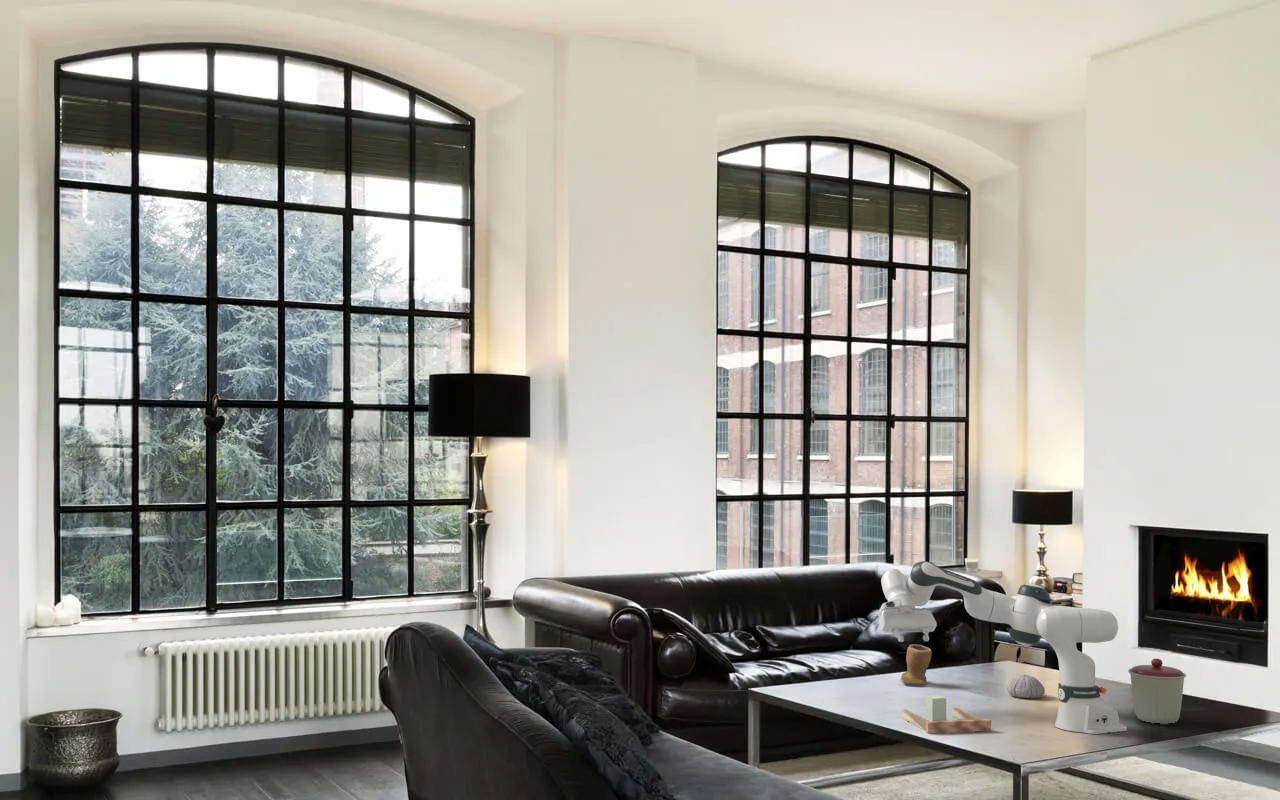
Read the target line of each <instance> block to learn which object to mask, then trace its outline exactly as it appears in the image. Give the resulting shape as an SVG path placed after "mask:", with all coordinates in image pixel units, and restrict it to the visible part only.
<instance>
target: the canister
mask: <svg viewBox="0 0 1280 800" xmlns="http://www.w3.org/2000/svg"><path fill="white" fill-rule="evenodd" d="M1150 663H1151V664H1141V665H1135V666H1133V667H1132V668H1129V669H1128V670H1127V671H1128V673H1129V674H1130V684H1131V691H1132V692H1131V693H1132V699H1133V705H1134V712H1135V715H1136V717H1137V719H1139V720H1140V721H1143V722H1144V721H1145V722H1146V723H1148V722H1151V723H1150V724H1154V723H1160V724H1159V725H1169V724H1168V723H1173V724H1176V723H1177V722H1178V721H1179V719H1180V717H1181V708H1182V703H1183V702H1182V700H1183V691H1184V684H1185V678H1186V677H1187V674H1186V673H1185V672H1183V671H1182V670H1181V669H1179V668H1175V667H1173V666H1172V667H1171V666H1166V665H1163V664H1164V663H1163V660H1162V659H1160V658H1157V657H1156V658H1153V659H1151V661H1150ZM1145 722H1144V723H1145ZM1175 722H1176V723H1175Z"/></svg>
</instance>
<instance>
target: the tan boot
mask: <svg viewBox="0 0 1280 800" xmlns="http://www.w3.org/2000/svg"><path fill="white" fill-rule="evenodd" d="M932 653H933V652H932V650H931V648H929V647H927V646H924V645H922V644H916V643H915V644H909V646H908V647H907V650H906V659H905V661H906V667H907V671H904V672H903V673H902V674H901V676H900V681H901V683H903V684H906V685H911V686H912V685H913V686H921V685H922V686H923V685H925V684H926V683H927V677H926V674H927V670H928V668H929V665H930V664H931V663H930V662H931V660H932V655H933V654H932Z"/></svg>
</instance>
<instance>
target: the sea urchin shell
mask: <svg viewBox="0 0 1280 800" xmlns="http://www.w3.org/2000/svg"><path fill="white" fill-rule="evenodd" d="M1006 689H1007V693H1008V694H1009V695H1010V696H1012V697H1016V698H1021V699H1041V698H1042V697H1043V696H1044V695H1045V694H1046V693H1045V692H1046V691H1045V687H1044V686H1043V684H1042V683H1041V682H1040V681H1039V680H1038V679H1037V678H1036V677H1035V676H1032V675H1029V674H1019V675H1016V676H1015V677H1013V678H1012V679H1011V680H1010V681H1009V683H1008V685H1007V688H1006Z"/></svg>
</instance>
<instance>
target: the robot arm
mask: <svg viewBox="0 0 1280 800" xmlns="http://www.w3.org/2000/svg"><path fill="white" fill-rule="evenodd" d="M880 582H881V587H882V588H881V589H882V592H883V594H884V596H885V597H884V598H885V599H886V600H887V602H883V603H882V604H881V606H880V608H879V611H878V613H877V615H878V618H879V620H878V624H879V627H880V630H881V632H883V633H884V634H885V633H886V634H887V633H889V634H890V633H892V635H893V636H895V637H894V638H896V639H897V641H898V642H900V643H902V642H904V641H905V638H904V635H903V634H900V633H923V635H922V639H923V641H924V642H929V640H930V636H929V633H930V632H931V633H932V632H934V631H935V629H936V627H937V626H938V624H937V621H936V619H935V617H934V615H933V613H932V611H931V610H929V609H928V608H926V607H922V606H925V605H926V604H928V602H929V601H930V599H931V596H932V594H933V592H934V590H935V588H936V587H937V586H942V587H945V588H948V589H950V590H954V591H957V592H959V593H960V594H961V595H962V596H963V603H964V608H965V610H966V613H968V614H969V616H971V617H972V618H974V619H978V620H981V621H986V622H989V623H990V622H991V623H998V624H999V623H1000V624H1007V625H1009V626H1010V628H1009V627H1006V628H1005V630H1006V631H1008V633H1009V634H1008V635H1009V636H1010V637H1011V639H1012V640H1013V641H1015V642H1016V643H1017V644H1018V645H1021V646H1024V647H1030V646H1036V645H1038V644H1039V643H1040V641H1041V639H1042V638H1043V640H1045V641H1046V642H1047V643H1048V644H1050V646H1051V647H1052V649H1053V651H1054V652H1055V654H1056V656H1057V661H1058V668H1059V683H1057V684H1058V688H1057V689H1058V690H1057V695H1058V709H1057V714H1056V718H1055V719H1056V720H1055V723H1054V726H1055V727H1056V728H1057V729H1061V730H1065V731H1069V732H1076V733H1077V732H1078V733H1084V734H1088V735H1089V734H1090V735H1098V734H1107V733H1108V732H1110V733H1116V732H1117V733H1118V731H1119V732H1125V731H1126V732H1127V731H1128V728H1127V727H1128V726H1126V725H1124V724H1122V723H1120V718H1119V717H1120V716H1119V713H1118V711H1117V709H1116V708H1115V707H1113V706H1112V705H1111V704H1110V703H1109V702H1107V701H1106V700H1105V699H1104V698H1102V697H1101V694H1103V695H1105V694H1106V693H1107V692H1108V690H1107V688H1106V687H1104V686H1100V687H1099V686H1098V685H1096V664H1095V661H1094V659H1093V658H1092V657H1090V656H1089V655H1087V654H1085V652H1082V651H1080V650H1078V648H1077V647H1078V646H1077V643H1088V644H1089V643H1090V644H1093V643H1094V644H1098V643H1104V642H1111V641H1113V640H1114V639H1115V637H1117V635H1118V632H1119V623H1118V620H1117V618H1116V615H1114V613H1112V612H1111V611H1108V610H1103V609H1098V608H1091V607H1078V606H1077V607H1075V606H1074V607H1073V606H1065V605H1052V602H1054V599H1053V598H1051V595H1050V593H1049V592H1048V590H1047V589H1045V588H1043V586H1041V585H1039V584H1036V583H1025V584H1022V585H1020V587H1019V588H1018V590H1017V593H1016V594H1017V597H1016V598H1014V597H1011V596H1010V595H1007V594H1004V593H1000V592H997V591H993V590H990V589H987V588H984V587H983V586H981V584H980V583H979V582H977V581H976V580H974V579H972V578H970V577H967V576H965V575H962V574H959V573H957V572H956V573H955V572H953V571H950V570H948V569H945V568H942V567H940V566H938V565H936V564H934V563H933V562H930V561H927V560H926V561H923V560H922V561H918V562H916V563H914V564H913V566H912V567H911V571H910V575H909V576H908V575H906V574H904V573H902V572H901V571H900V570H899V569H898V568H891V569H889V570H887V571H886V572H884V574H883V575H882V577H881V580H880ZM919 607H922V608H919Z"/></svg>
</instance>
